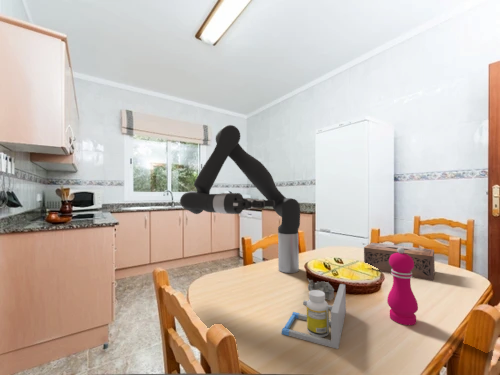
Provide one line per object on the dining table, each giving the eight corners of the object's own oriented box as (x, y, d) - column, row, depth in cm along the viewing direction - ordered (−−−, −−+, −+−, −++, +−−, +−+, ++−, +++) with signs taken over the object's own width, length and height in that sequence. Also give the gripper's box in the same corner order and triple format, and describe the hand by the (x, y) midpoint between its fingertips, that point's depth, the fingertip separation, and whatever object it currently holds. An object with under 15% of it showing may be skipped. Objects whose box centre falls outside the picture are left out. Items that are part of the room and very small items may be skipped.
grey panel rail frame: (301, 302, 77) (300, 277, 77) (345, 311, 71) (345, 284, 71) (281, 333, 60) (281, 301, 60) (338, 349, 54) (337, 313, 54)
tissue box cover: (434, 272, 106) (434, 249, 107) (433, 281, 95) (432, 256, 96) (371, 261, 123) (371, 242, 123) (364, 268, 112) (363, 247, 112)
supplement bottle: (314, 323, 64) (313, 287, 65) (332, 331, 61) (332, 292, 61) (303, 331, 61) (302, 293, 61) (322, 340, 57) (321, 299, 57)
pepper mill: (423, 328, 62) (421, 251, 62) (393, 325, 63) (391, 249, 64) (411, 314, 69) (409, 245, 70) (383, 311, 70) (382, 244, 71)
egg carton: (306, 288, 89) (306, 277, 89) (326, 288, 89) (326, 277, 89) (313, 301, 78) (313, 288, 78) (336, 301, 78) (336, 288, 78)
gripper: (217, 193, 80) (260, 192, 73) (238, 193, 93) (276, 192, 86) (217, 215, 80) (261, 217, 73) (238, 212, 93) (277, 213, 86)
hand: (269, 203), depth 79 cm, fingers open, 8 cm apart
